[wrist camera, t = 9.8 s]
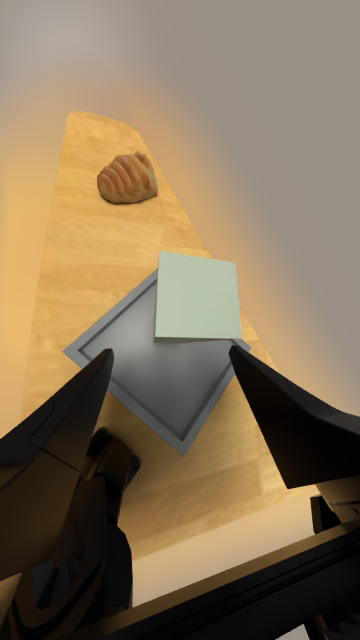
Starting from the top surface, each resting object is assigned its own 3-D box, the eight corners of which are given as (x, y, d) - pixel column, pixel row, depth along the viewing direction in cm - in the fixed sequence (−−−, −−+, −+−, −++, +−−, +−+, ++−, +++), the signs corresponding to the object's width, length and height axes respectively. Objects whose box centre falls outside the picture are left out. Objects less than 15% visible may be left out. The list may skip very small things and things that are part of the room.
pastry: (116, 215, 21) (108, 188, 17) (90, 185, 21) (77, 151, 18) (160, 196, 24) (162, 169, 20) (137, 169, 24) (134, 137, 20)
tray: (179, 443, 16) (183, 456, 15) (72, 350, 16) (62, 351, 14) (241, 347, 21) (251, 347, 19) (160, 272, 20) (161, 265, 19)
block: (181, 343, 18) (241, 338, 6) (152, 342, 17) (155, 336, 5) (182, 315, 19) (235, 262, 7) (154, 314, 18) (159, 251, 6)
